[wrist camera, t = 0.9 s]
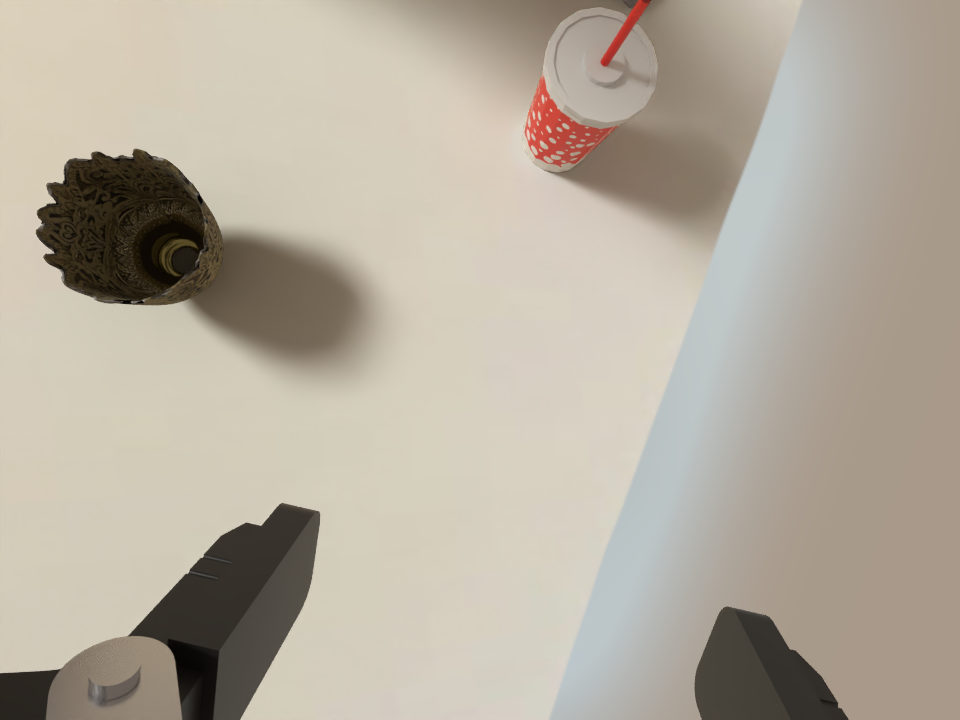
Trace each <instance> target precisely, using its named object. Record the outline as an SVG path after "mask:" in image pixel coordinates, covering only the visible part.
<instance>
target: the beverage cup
mask: <svg viewBox="0 0 960 720" xmlns="http://www.w3.org/2000/svg"><path fill="white" fill-rule="evenodd" d="M650 1H651V0H638V2H637V3H636V5H635V6H634V8H633V10H632V11H631V13H630V14H629V16H628V17H627V16H626V15H625V14H623V13H622V12H618V11H614V10H610V9H606V8H602V7H596V8H589V9H583V10H578V11H577V12H575V13H573V14H572V15H570V16H569V17H567V18H566V19H564V20H563V21H561V22H560V24H559V25H558V27H557V29H556V30H555V32H554V33H553V35H552V37H551V38H550V40H549V42H548V46H547V48H546V51H545V58H544V65H543V73H542V76H541V78H540V81H539V84H538V87H537V90H536V93H535V96H534V99H533V101H532V104H531V107H530V110H529V113H528V116H527V119H526V121H525V124H524V129H523V135H522V141H523V145H524V149H525V152H526V154H527V155H528V156H529V158H530V159H531V161H532V162H533V163H534V164H536V165H537V166H539V167H540V168H542V169H543V170H546V171H551V172H556V173H558V172H563V171H568V170H570V169H572V168H573V167H574V166H576V165H577V164H579V163H580V162H581V161H582V160H583V159H584V158H585V157H586V156H587V155H588V154H589V153H590V152H591V151H592V150H594V149H595V148H596V147H597V146H598V145H599V144H600V143H601V142H602V141H603V140H604V139H605V138H606V137H607V136H608V135H609V134H610V133H611V132H612V131H614V130H615V129H616V128H617V127H618V126H620V125H622V124H624V123H625V122H627V121H628V120H629V119H631V118H632V117H634V116H635V115H637V114H638V113H639V111H641V110H642V109H643V108H644V107H645V106H646V104H647V102H648V101H649V99H650V97H651V95H652V94H653V92H654V90H655V89H656V83H657V75H658V68H659V66H658V62H657V58H656V54H655V50H654V46H653V44H652V42H651V41H650V39H649V38H648V36H647V35H646V33H645V32H644V30H643V29H642V27H641V26H640V25H639V24H637V23H636V22H637V21H638V19H639V18H640V16H641V15H642V13H643V12H644V10H645V9H646V7H647V6H648V4H649V3H650Z"/></svg>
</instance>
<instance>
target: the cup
mask: <svg viewBox="0 0 960 720" xmlns="http://www.w3.org/2000/svg"><path fill="white" fill-rule="evenodd" d="M132 155H133V157H126V156H123V155H120V156H118V157H114V158H113V157H110V156H106V155H105V154H103V153H101V152H92V154H91V158H92V160H88V159H77V158H74V159H70V160H68V162H67V163H66V164H65V166H64V175H65V176H64V178H65V179H64V181H63V184H60V183H56V182H54V183H47V185H46V186H47V190H48V194H49V195H50V196H52V197H53V198H54V200H55V201H56V204H55V203H52V204H47V205H46V206H45V207H42V208H40V209H39V210H38V211H37V216H38V218H39V219H40V220H41V221H42V223H41V224H43V225H42V226H40V227H39V228H38V229H37V230H36V235H37V237H38V238H39V240H40V241H41V242H42V243H43V244H44V245H46V246H47V247H48V248H49V249H51V250H52V252H53V251H54V254H47V253H46V254H45V255H44V256H43V258H44V259H45V261H46V262H47V263H48V264H50V265H52V266H54V267H56V268H58V269H60V270H61V272H62V274H63V275H62V277H61V279H62V281H63V283H64V285H65V286H67V287H68V288H70V289H72V290H74V291H76V292H79V293H81V294H84V295H87V296H90V297H93V298H94V299H95V300H97V301H100V302H104V303H120V304H133V305H167V304H174V303H178V302H182V301H185V300H187V299H190V298H192V297H194V296H196V295H198V294H199V293H201V292H202V291H203V290H204V289H206V288H207V287H208V286H209V285H210V284H211V282H212V281H213V280H214V278H215V277H216V275H217V273H218V271H219V269H220V267H221V263H222V258H223V241H222V236H221V232H220V229H219V226H218V224H217V222H216V220H215V218H214V216H213V214H212V213H211V211H210V209H209V208H208V206H207V205H206V203H205V202H204V200H203V199H202V197H201V196H200V194H199V192H198V191H197V189H196V188H195V186H194V185H193V184H192V183H191V182H190V181H189V180H188V179H187V178H186V177H185V176H184V175H183V173H182V172H181V171H180V170H179V169H178V168H177V167H176V166H174V165H173V164H172V163H170V162H169V161H168V160H166V159H163V158H158V157H156V156H151V155H149V154H148V153H147V152H145V151H143V150H139V149H134V150H133V154H132ZM183 247H189V248H192V249H194V250H195V251H196V252H197V253H198V254H199V257H198V259H197V261H196V264H195V267H194V268H193V269H192V270H190V271H189V272H188V273H187V274H184V273H180V272H178V271H177V270H176V269H175V268H174V267H173V264H172V256H173V254H174V253H175V251H176V250H178V249H180V248H183Z"/></svg>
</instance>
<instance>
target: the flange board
mask: <svg viewBox="0 0 960 720" xmlns="http://www.w3.org/2000/svg"><path fill="white" fill-rule="evenodd" d="M623 1H624V2H625V3H626V4H627V5H628V6H629V7H630V8H632V7H633V6H634V5H635V3H636V2H637V1H638V0H623Z"/></svg>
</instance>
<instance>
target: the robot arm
mask: <svg viewBox="0 0 960 720" xmlns="http://www.w3.org/2000/svg"><path fill="white" fill-rule="evenodd" d="M319 525H320V513H319V511H315V510H310V509H306V508H301V507H297V506H293V505H288V504H284V503H281V504H280V505H279V506H278V507H277V508H276V509H275V510H274V511H273V513H272V514H271V515H270V516H269V517H268V519H267V520H266V521H265V522H264V523H263V525H262V526H259V525H254V524H250V523H245V524H243V525H241V526H239V527H237V528H235V529H233V530H231V531H230V532H228V533H226V534H224V535H222V536H221V537H220V538H219V539H218V540H217V541H216V542H215V543H214V544H213V545H212V546H211V547H210V549H209V550H208V551H207V552H206V553H205V554H204V557H203V558H200V559H199V560H198V561H197V563H196V564H195V565H194V566H193V567H192V568H191V569H190V571H189V573H188V574H185V575H184V577H183V578H182V579H181V580H180V581H179V582H178V583H177V584H176V585H175V586H174V587H173V588H172V589H171V590H170V592H169V593H168V594H167V595H166V596H165V597H164V598H163V599H162V600H161V601H160V602H159V603H158V604H157V606H156V607H155V608H154V609H153V610H152V611H151V612H150V613H149V614H148V615H147V616H146V617H145V618H144V620H143V621H142V622H141V623H140V624H139V625H138V626H137V627H136V628H135V629H134V630H133V631H132V632H131V634H130V635H129V636H127V637H120V638H114V639H111V640H107V641H104V642H101V643H99V644H96V645H94V646H92V647H90V648H88V649H86V650H84V651H83V652H81V653H80V654H78V655H76V656H75V657H74V658H72V659H71V660H70V661H69V662H68V663H66V665H65V666H64V667H63V668H62V669H58V670H50V671H36V672H17V673H0V720H240V719H241V717H242V715H243V713H244V712H245V710H246V708H247V706H248V704H249V703H250V701H251V699H252V697H253V695H254V694H255V692H256V690H257V688H258V686H259V685H260V683H261V681H262V679H263V678H264V676H265V674H266V672H267V670H268V669H269V667H270V665H271V663H272V661H273V660H274V658H275V656H276V654H277V652H278V651H279V649H280V647H281V645H282V644H283V642H284V640H285V638H286V636H287V635H288V633H289V631H290V629H291V627H292V626H293V624H294V622H295V620H296V618H297V617H298V615H299V613H300V611H301V609H302V607H303V605H304V602H305V600H306V597H307V594H308V591H309V588H310V584H311V580H312V574H313V567H314V560H315V553H316V546H317V539H318V532H319ZM695 697H696V703H697V706H698V709H699V712H700V715H701V718H702V720H848V718H847V716H846V715H845V713H844V712H843V710H842V709H840V708H838V702H837V701H836V699H835V697H834V696H833V694H832V693H831V691H830V690H829V688H828V686H827V685H826V683H825V682H824V680H823V678H822V677H821V676H820V675H819V674H818V673H817V672H816V671H815V670H814V669H813V668H812V667H811V666H810V665H809V664H808V663H807V662H806V661H805V660H804V659H803V658H802V657H801V656H800V655H799V654H798V653H797V652H796V651H794V650H790V649H789V647H788V646H787V644H786V643H785V641H784V639H783V637H782V636H781V634H780V633H779V631H778V629H777V627H776V626H775V624H774V622H773V621H772V620H771V619H770V618H769V617H768V616H766V615H762V614H757V613H753V612H749V611H745V610H740V609H736V608H731V607H724V608H723V609H722V610H721V611H720V613H719V615H718V617H717V620H716V622H715V625H714V627H713V630H712V632H711V635H710V637H709V640H708V642H707V645H706V648H705V650H704V652H703V655H702V657H701V660H700V662H699V665H698V667H697V671H696V676H695Z"/></svg>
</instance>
